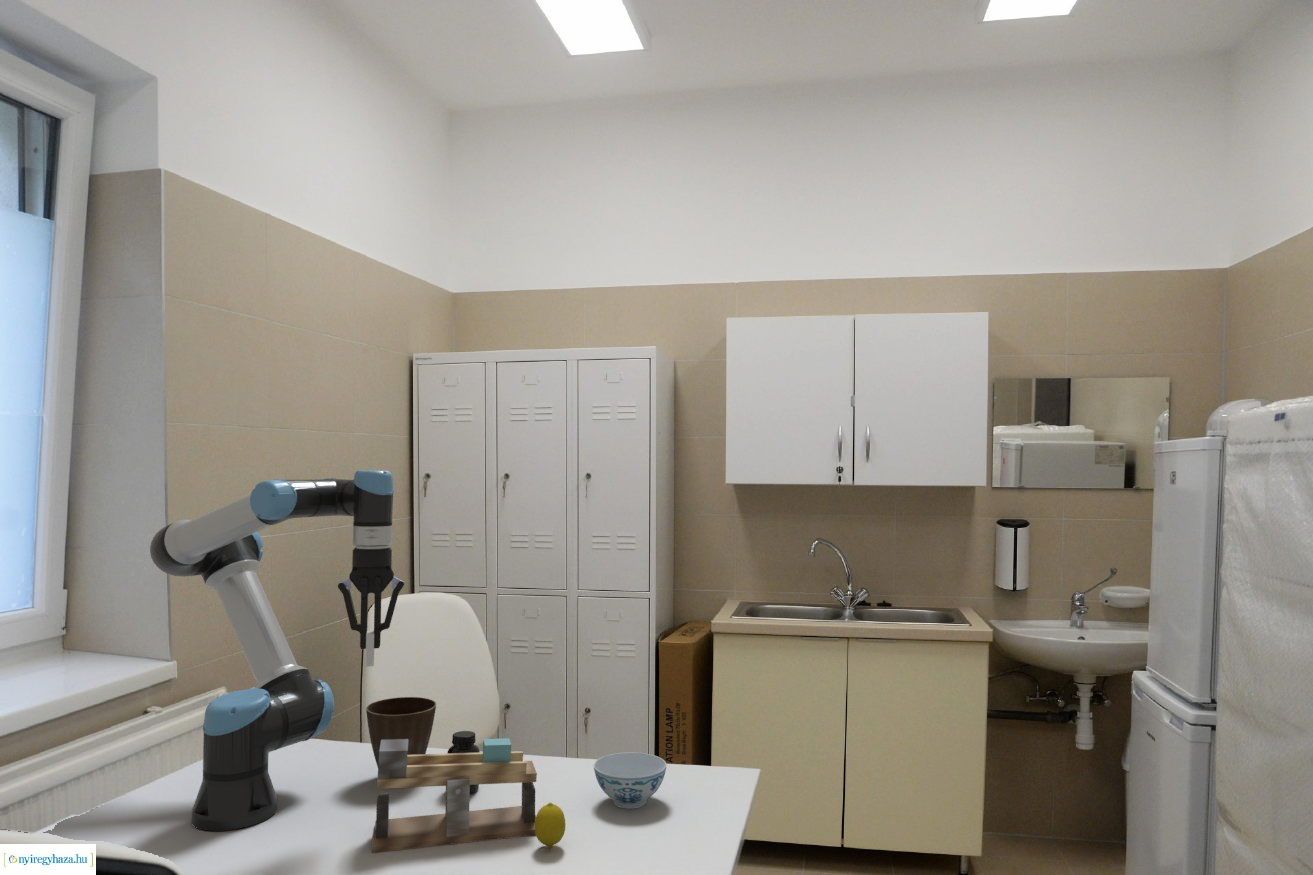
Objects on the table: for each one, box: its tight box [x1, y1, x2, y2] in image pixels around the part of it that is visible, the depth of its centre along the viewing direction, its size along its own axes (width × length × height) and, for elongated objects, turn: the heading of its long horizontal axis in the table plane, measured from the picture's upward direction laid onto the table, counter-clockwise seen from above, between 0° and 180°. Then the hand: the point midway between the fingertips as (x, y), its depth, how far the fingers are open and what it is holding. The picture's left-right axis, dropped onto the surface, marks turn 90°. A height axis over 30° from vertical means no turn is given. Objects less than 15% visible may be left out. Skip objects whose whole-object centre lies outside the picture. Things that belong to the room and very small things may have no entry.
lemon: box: [535, 802, 566, 849], centre depth 155 cm, size 6×6×8 cm
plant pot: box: [365, 696, 437, 768], centre depth 190 cm, size 15×15×16 cm
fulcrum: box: [371, 778, 537, 854], centre depth 163 cm, size 30×12×11 cm, turn 105°
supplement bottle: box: [446, 730, 480, 796], centre depth 183 cm, size 7×7×12 cm
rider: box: [482, 738, 512, 763], centre depth 165 cm, size 5×4×5 cm
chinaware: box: [593, 751, 667, 809], centre depth 177 cm, size 15×15×8 cm
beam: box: [376, 739, 538, 790], centre depth 163 cm, size 29×7×7 cm, turn 105°
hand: (369, 664), depth 172 cm, fingers closed
